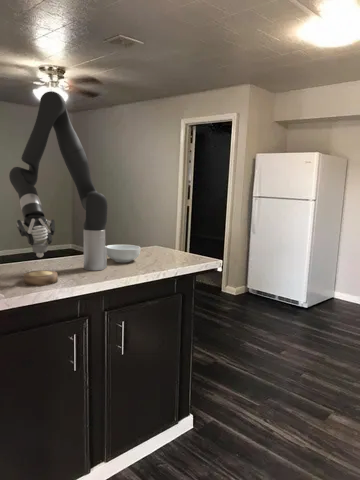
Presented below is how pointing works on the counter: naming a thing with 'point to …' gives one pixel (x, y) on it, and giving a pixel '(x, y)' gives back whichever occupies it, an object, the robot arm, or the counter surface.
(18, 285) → the counter surface
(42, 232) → the light bulb
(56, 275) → the bulb stand
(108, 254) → the cereal bowl
